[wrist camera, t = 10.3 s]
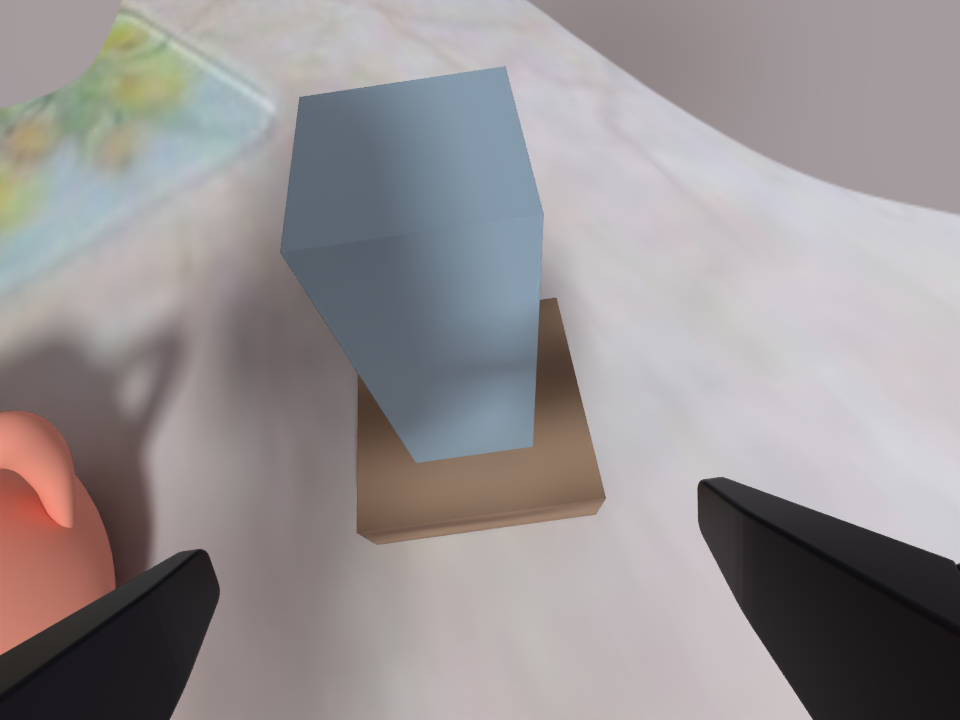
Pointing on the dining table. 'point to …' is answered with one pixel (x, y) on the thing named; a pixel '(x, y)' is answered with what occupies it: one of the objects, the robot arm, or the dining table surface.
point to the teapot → (45, 532)
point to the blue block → (424, 253)
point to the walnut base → (483, 464)
